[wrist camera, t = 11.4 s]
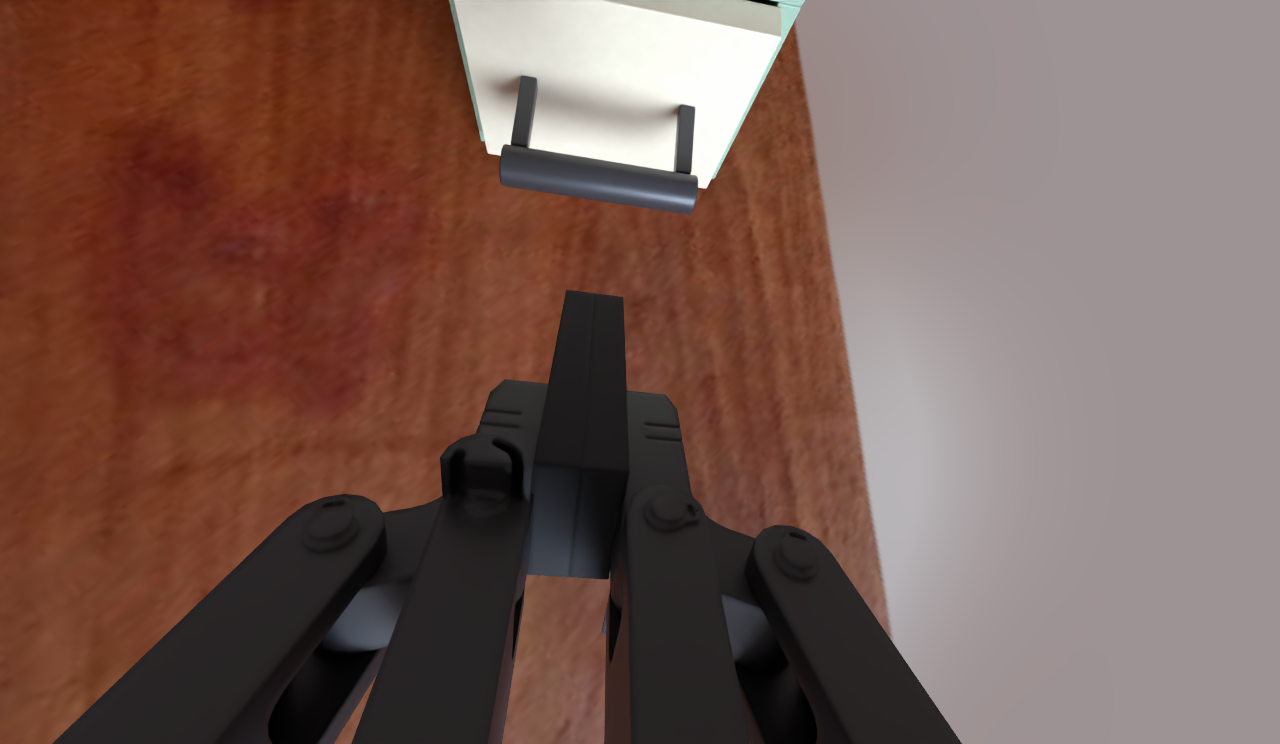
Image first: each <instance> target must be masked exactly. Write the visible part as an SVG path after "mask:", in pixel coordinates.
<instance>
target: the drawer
mask: <svg viewBox="0 0 1280 744" xmlns="http://www.w3.org/2000/svg"><path fill="white" fill-rule="evenodd" d="M454 3H455V8H456V12H457V17H458V21H459V26H460V30H461V35H462V39H463V44H464V49H465V53H466V58H467V62H468V67H469V71H470V76H471V80H472V85H473V89H474V94H475V98H476V103H477V107H478V112H479V116H480V121H481V125H482V130H483V134H484V139H485V144H486V148H487V152H488V153H489V154H495V155H500V167H499V174H500V182H501V185H503V186H506V187H513V188H519V189H526V190H532V191H539V192H545V193H552V194H558V195H565V196H571V197H578V198H584V199H591V200H597V201H604V202H610V203H617V204H623V205H630V206H636V207H643V208H649V209H656V210H662V211H669V212H675V213H682V214H688V215H689V214H691V213H692V211H693V209H694V206H695V203H696V198H697V192H698V187H699V188H705V189H706V188H707V186H708V184H709V182H710V180H711V178H712V176H713V174H714V172H715V170H716V168H717V166H718V164H719V162H720V160H721V158H722V156H723V154H724V152H725V150H726V148H727V146H728V144H729V142H730V140H731V138H732V136H733V134H734V132H735V130H736V128H737V126H738V124H739V122H740V120H741V118H742V116H743V114H744V112H745V110H746V108H747V106H748V104H749V102H750V100H751V98H752V96H753V94H754V92H755V90H756V88H757V86H758V84H759V82H760V80H761V78H762V76H763V74H764V72H765V70H766V68H767V66H768V64H769V62H770V60H771V58H772V56H773V54H774V52H775V50H776V48H777V46H778V44H779V42H780V40H781V37H782V8H780V7H775V6H771V5H766V4H761V3H757V2H752V1H751V0H454Z"/></svg>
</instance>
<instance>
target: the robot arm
mask: <svg viewBox="0 0 1280 744" xmlns="http://www.w3.org/2000/svg"><path fill="white" fill-rule="evenodd" d="M440 463H441V478H442V493H443V496H442V497H440V498H439V499H436V500H434V501H432V502H430V503H427V504H425V505H421V506H417V507H413V508H408V509H402V510H396V511H390V512H385V513H383V512H382V511H381V510H380V508H379V507H378V505H377V504H376V503H375V502H373V501H371V500H369V499H367V498H365V497H363V496H358V495H348V494H342V495H335V496H329V497H324V498H321V499H319V500H316V501H314V502H311V503H309V504H306V505H304V506H303V507H302V508H300V509H299V510H297V511H296V512H295V513H293V514H292V515H291V516H289V517H288V518H287V519H286V520H285V521H284V522H283V523H282V524H281V525H280V526H279V527H277V528H276V529H275V530H274V531H273V532H272V533H271V534H270V535H269V536H268V537H267V538H266V539H265V540H264V541H263V542H262V543H261V544H260V545H259V546H258V547H257V548H256V549H255V550H254V551H252V552H251V553H250V554H249V555H248V556H247V557H246V558H245V559H244V560H243V561H242V562H241V563H240V564H239V565H238V566H237V567H236V568H235V569H234V570H233V571H232V572H231V573H230V574H229V575H227V576H226V577H225V578H224V579H223V580H222V581H221V582H220V583H219V584H218V585H217V586H216V587H215V588H214V589H213V590H212V591H211V592H210V593H209V594H208V595H207V596H206V597H205V598H204V599H203V600H201V601H200V602H199V603H198V604H197V605H196V606H195V607H194V608H193V609H192V610H191V611H190V612H189V613H188V614H187V615H186V616H185V617H184V618H183V619H182V620H181V621H180V622H179V623H178V624H176V625H175V626H174V627H173V628H172V629H171V630H170V631H169V632H168V633H167V634H166V635H165V636H164V637H163V638H162V639H161V640H160V641H159V642H158V643H157V644H156V645H155V646H154V647H153V648H152V649H150V650H149V651H148V652H147V653H146V654H145V655H144V656H143V657H142V658H141V659H140V660H139V661H138V662H137V663H136V664H135V665H134V666H133V667H132V668H131V669H130V670H129V671H128V672H127V673H125V674H124V675H123V676H122V677H121V678H120V679H119V680H118V681H117V682H116V683H115V684H114V685H113V686H112V687H111V688H110V689H109V690H108V691H107V692H106V693H105V694H104V695H103V696H102V697H100V698H99V699H98V700H97V701H96V702H95V703H94V704H93V705H92V706H91V707H90V708H89V709H88V710H87V711H86V712H85V713H84V714H83V715H82V716H81V717H80V718H79V719H78V720H77V721H76V722H74V723H73V724H72V725H71V726H70V727H69V728H68V729H67V730H66V731H65V732H64V733H63V734H62V735H61V736H60V737H59V738H58V739H57V740H56V741H55V742H54V743H53V744H334V742H335V740H336V739H337V737H338V736H339V734H340V732H341V731H342V729H343V728H344V726H345V724H346V723H347V721H348V720H349V718H350V716H351V715H352V713H353V712H354V710H355V708H356V707H357V705H358V704H359V702H360V700H361V699H362V697H363V696H364V694H365V692H366V691H367V689H368V688H369V686H370V684H371V683H372V681H373V680H374V678H375V676H376V675H377V676H376V679H375V682H374V684H373V687H372V690H371V693H370V695H369V698H368V701H367V703H366V706H365V709H364V711H363V714H362V717H361V720H360V722H359V725H358V728H357V730H356V733H355V736H354V738H353V741H352V744H502V738H503V732H504V726H505V719H506V713H507V706H508V700H509V694H510V687H511V681H512V675H513V668H514V662H515V656H516V649H517V643H518V636H519V630H520V624H521V617H522V611H523V605H524V589H525V581H526V575H527V574H528V575H544V576H561V577H578V578H594V579H608V578H609V573H610V594H609V599H608V603H607V608H606V613H605V618H604V623H603V628H602V633H606V675H605V740H604V744H750V743H751V744H962V743H961V742H960V740H959V739H958V737H957V736H956V734H955V733H954V732H953V730H952V729H951V727H950V726H949V724H948V723H947V721H946V720H945V718H944V717H943V716H942V714H941V713H940V711H939V710H938V708H937V707H936V705H935V704H934V702H933V701H932V699H931V698H930V697H929V695H928V694H927V692H926V691H925V689H924V688H923V686H922V685H921V683H920V682H919V680H918V679H917V678H916V676H915V675H914V673H913V672H912V670H911V669H910V667H909V666H908V664H907V663H906V662H905V660H904V659H903V657H902V656H901V654H900V653H899V651H898V650H897V648H896V647H895V645H894V644H893V643H892V641H891V640H890V638H889V637H888V635H887V634H886V632H885V631H884V629H883V628H882V626H881V625H880V624H879V622H878V621H877V619H876V618H875V616H874V615H873V613H872V612H871V610H870V609H869V607H868V606H867V605H866V603H865V602H864V600H863V599H862V597H861V596H860V594H859V593H858V591H857V590H856V589H855V587H854V586H853V584H852V583H851V581H850V580H849V578H848V577H847V575H846V574H845V572H844V571H843V570H842V568H841V567H840V565H839V564H838V562H837V561H836V559H835V558H834V556H833V555H832V553H831V552H830V551H829V550H828V549H827V548H826V547H825V546H824V545H823V544H822V542H821V541H820V540H818V539H817V538H815V537H814V536H812V535H811V534H809V533H807V532H806V531H804V530H801V529H798V528H795V527H792V526H782V525H774V526H772V527H769V528H766V529H763V530H762V531H761V533H760V534H759V535H758V536H757V537H756V538H753V537H750V536H747V535H744V534H741V533H739V532H736V531H733V530H730V529H728V528H725V527H723V526H721V525H719V524H717V523H716V522H714V521H713V520H711V519H710V518H708V517H707V516H706V515H705V513H704V511H703V508H702V506H701V505H700V504H699V502H698V501H697V500H696V499H695V498H694V497H693V496H692V493H691V488H690V482H689V476H688V470H687V465H686V459H685V453H684V447H683V442H682V436H681V430H680V424H679V418H678V412H677V409H676V408H675V406H674V405H673V404H672V402H671V401H670V400H669V399H668V397H667V396H666V395H663V394H654V393H644V392H635V391H627V387H626V360H625V334H624V307H623V297H618V296H610V295H602V294H595V293H587V292H579V291H571V290H566V294H565V299H564V305H563V310H562V315H561V320H560V326H559V331H558V336H557V341H556V347H555V352H554V357H553V362H552V368H551V373H550V378H549V383H548V384H543V383H534V382H524V381H515V380H504V381H503V382H502V383H500V384H499V385H498V386H497V387H496V388H495V389H494V390H492V391H491V392H490V395H489V397H488V400H487V403H486V406H485V410H484V412H483V414H482V417H481V420H480V425H479V426H478V429H477V432H476V434H474V435H470V436H467V437H463V438H461V439H459V440H458V441H456V442H455V443H453V444H451V445H450V446H448V448H447V449H446V450H445V452H444V453H443V454H442V456H441V457H440ZM377 673H378V674H377ZM749 741H750V742H749Z"/></svg>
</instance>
